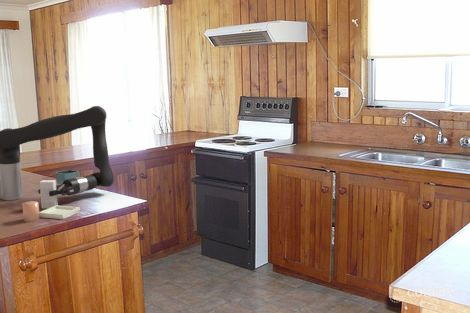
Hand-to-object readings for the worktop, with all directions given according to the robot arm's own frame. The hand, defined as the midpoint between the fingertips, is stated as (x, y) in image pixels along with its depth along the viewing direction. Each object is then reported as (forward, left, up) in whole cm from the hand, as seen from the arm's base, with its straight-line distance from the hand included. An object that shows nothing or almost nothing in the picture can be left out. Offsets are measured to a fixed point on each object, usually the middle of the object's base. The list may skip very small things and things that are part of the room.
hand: (44, 192), depth 220 cm
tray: (+12, -6, -7) cm, 15 cm away
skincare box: (+1, +2, -7) cm, 8 cm away
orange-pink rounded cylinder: (+6, -16, -7) cm, 18 cm away
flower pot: (-13, +35, -7) cm, 38 cm away
